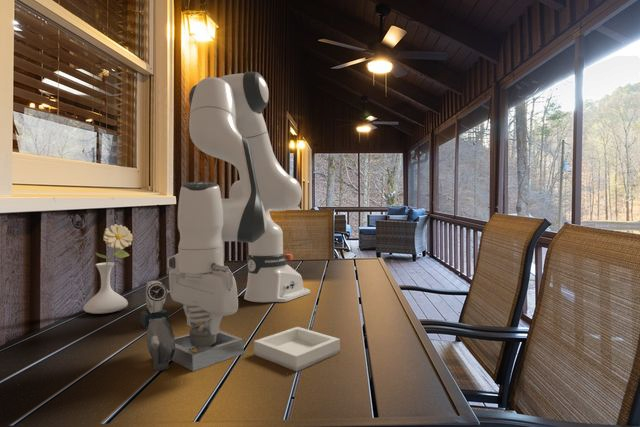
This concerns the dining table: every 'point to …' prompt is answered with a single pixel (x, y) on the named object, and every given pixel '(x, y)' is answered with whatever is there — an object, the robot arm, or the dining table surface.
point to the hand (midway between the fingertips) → (202, 329)
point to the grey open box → (178, 351)
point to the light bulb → (200, 328)
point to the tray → (296, 348)
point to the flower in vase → (106, 296)
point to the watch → (154, 303)
